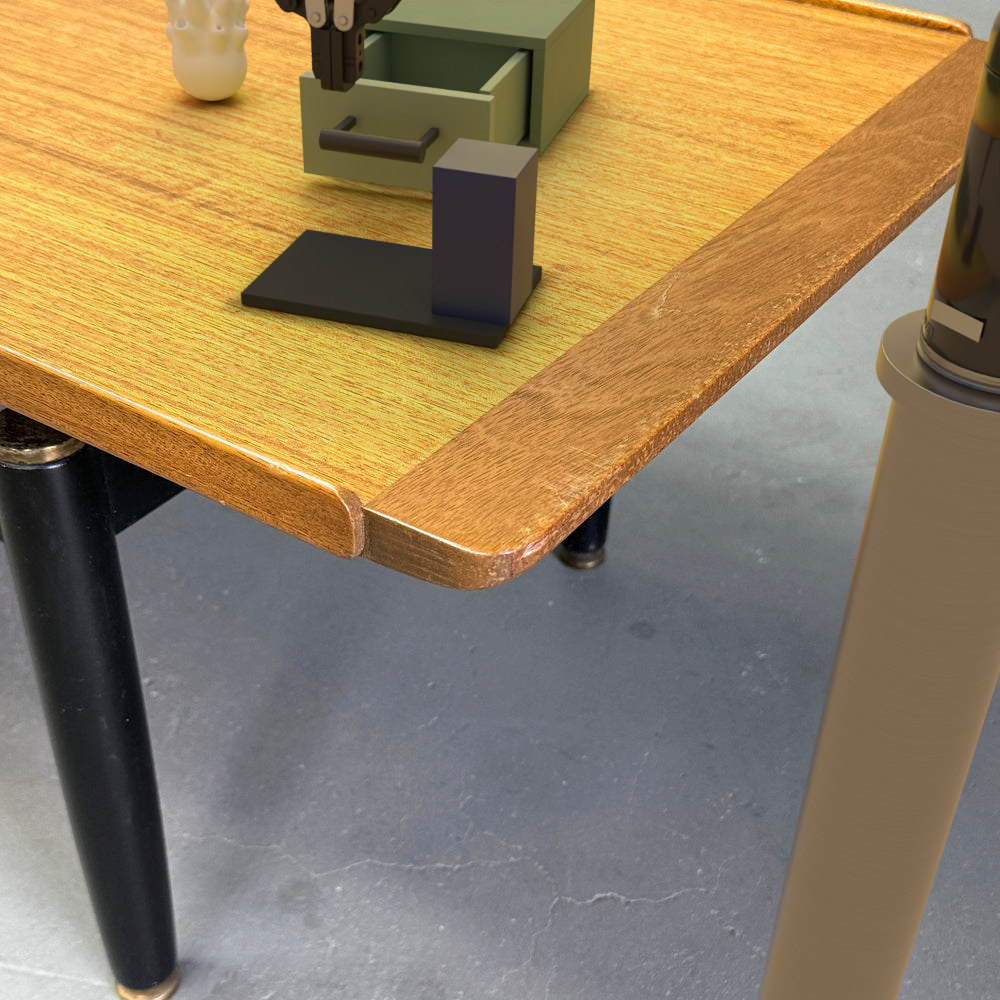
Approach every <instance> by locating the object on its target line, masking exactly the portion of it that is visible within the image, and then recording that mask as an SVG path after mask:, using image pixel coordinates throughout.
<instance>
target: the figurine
mask: <svg viewBox="0 0 1000 1000" xmlns="http://www.w3.org/2000/svg"><path fill="white" fill-rule="evenodd" d="M164 3H165V6H166V8H167V13H166V14H167V18H168V21H169V22H167V24H166V26H165V31H164V32H165V36H166V38H167V40H168V41H169V42H170V43H171V65H172V66H171V67H172V71H173V74H174V77H175V79H176V81H177V83H178V84H179V86H180V87H181V88H182V89H183V91H185V92H186V93H187V94H188V95H190V96H192V97H194V98H195V99H198V100H202V101H209V102H216V101H221V100H226V99H228V98H229V97H231V96H233V95H235V94H236V93H237V92H238V91H239V90H240V89H241V87H242V86H243V84H244V82H245V81H246V77H247V73H248V56H247V52H246V48H245V44H246V43H247V40H248V39H249V38H248V37H249V34H250V33H249V32H250V31H249V28H248V26H247V25H246V24H245V23H246V20H247V14H248V12H249V10H250V2H249V0H164Z"/></svg>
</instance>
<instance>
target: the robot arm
mask: <svg viewBox="0 0 1000 1000" xmlns="http://www.w3.org/2000/svg"><path fill="white" fill-rule="evenodd" d="M274 2H275V3H276V5H277V6H278V7H279V9H280V10H281V11H283V12H284V13H286V14H289V13H294V14H296V15H297V16H300V17H301V18H303V19H304V20H305V21H306V22H307V24H308V25H309V29H310V30H309V31H310V52H311V54H310V55H311V72H313V74H314V76H315V79H321V88H322V89H323V90H329V91H337V92H344V93H346V92H347V91H348V90H350V89H351V88H352V87H353V86H354V85H355V83H356V81H357V80H359V79H360V78H361V77H362V75H363V72H364V70H365V60H364V59H365V56H364V26H365V24H367V23H370V24H376V23H378V22H379V21H380V20H382V18H383V17H384V16H386V15H388V14H390V13H391V12H392V11H393V10H394V9H395V8H396V7H397V5H398V4H399V3H400V2H401V0H274ZM969 119H970V121H969V124H968V128H967V134H966V137H965V141H964V146H963V149H962V150H963V151H962V155H961V157H960V158H961V159H960V163H959V167H958V171H957V177H956V181H955V185H954V189H953V194H952V198H951V202H950V207H949V210H948V215H947V219H946V224H945V229H944V233H943V237H942V240H941V241H942V242H941V246H940V249H939V254H938V258H937V263H936V267H935V271H934V275H933V279H932V284H931V288H930V294H929V298H928V302H927V305H926V308H927V309H926V308H925V309H926V311H925V315H924V320H923V323H922V326H921V329H920V333H919V338H918V342H917V348H918V352H919V354H920V356H921V357H922V359H923V360H924V361H925V362H926V363H927V364H928V365H929V366H930V367H931V368H933V369H934V370H935V371H937V372H938V373H940V374H941V375H943V376H945V377H947V378H949V379H951V380H953V381H955V382H957V383H960V384H963V385H965V386H968V387H971V388H974V389H978V390H982V391H986V392H990V393H996V394H1000V10H998V12H997V13H996V16H995V17H994V21H993V23H992V26H991V28H990V34H989V37H988V42H987V46H986V51H985V55H984V60H983V64H982V67H981V71H980V76H979V81H978V85H977V90H976V93H975V98H974V103H973V107H972V111H971V116H970V118H969Z"/></svg>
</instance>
